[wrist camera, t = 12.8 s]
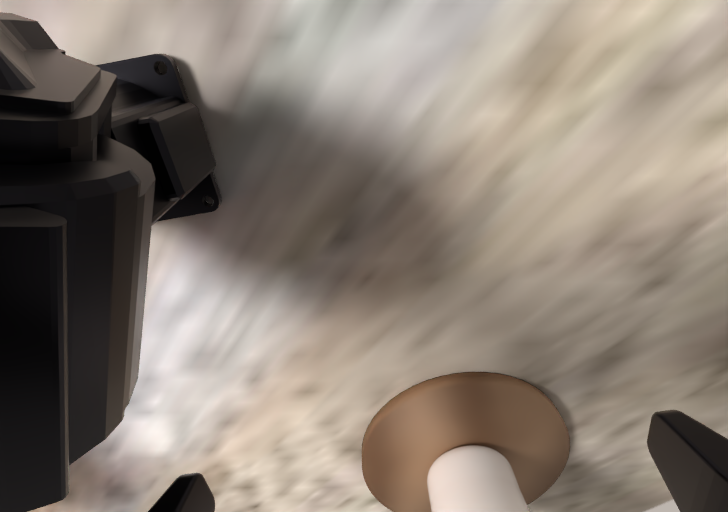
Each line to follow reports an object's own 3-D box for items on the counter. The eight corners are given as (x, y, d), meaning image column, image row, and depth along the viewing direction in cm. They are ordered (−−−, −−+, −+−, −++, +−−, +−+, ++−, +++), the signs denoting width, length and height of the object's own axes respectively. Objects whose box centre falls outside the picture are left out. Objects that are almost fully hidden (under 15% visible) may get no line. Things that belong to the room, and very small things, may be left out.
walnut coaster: (378, 521, 31) (379, 535, 30) (344, 389, 25) (344, 402, 24) (558, 497, 30) (564, 511, 29) (567, 356, 24) (575, 368, 23)
